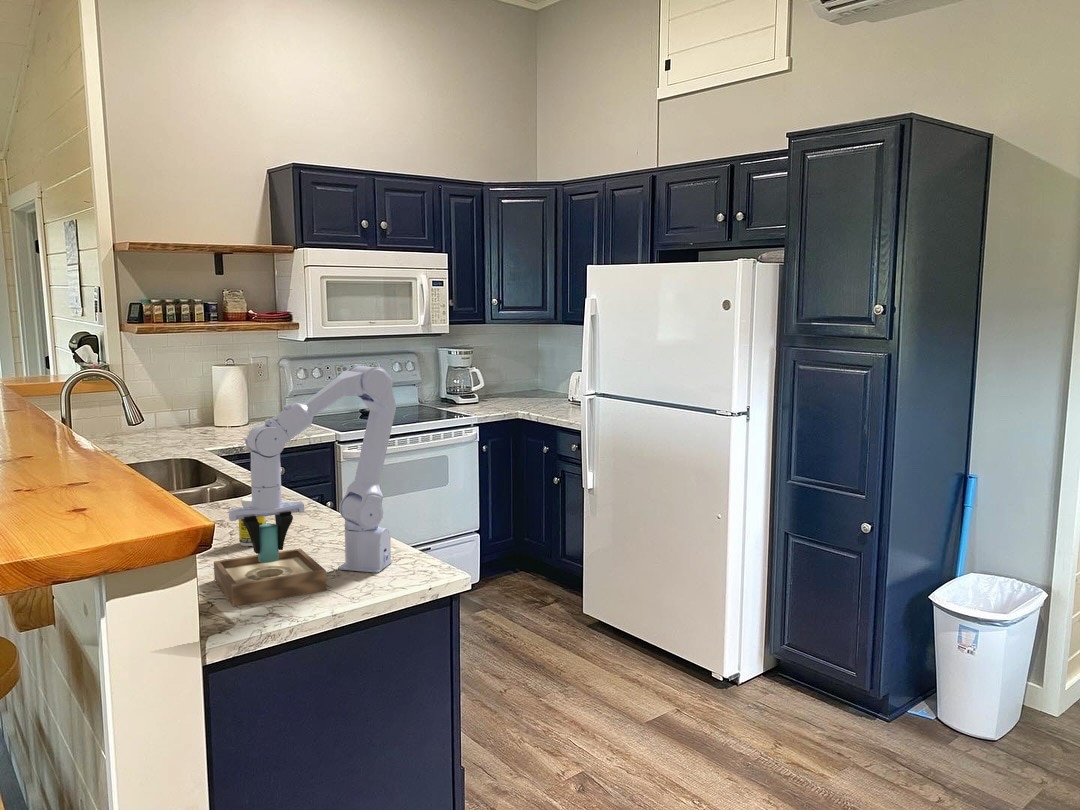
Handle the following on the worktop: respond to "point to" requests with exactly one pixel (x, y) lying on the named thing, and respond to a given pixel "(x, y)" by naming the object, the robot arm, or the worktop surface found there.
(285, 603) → the worktop surface
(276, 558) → the peg
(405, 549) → the worktop surface
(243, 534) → the pill bottle
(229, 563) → the walnut box
